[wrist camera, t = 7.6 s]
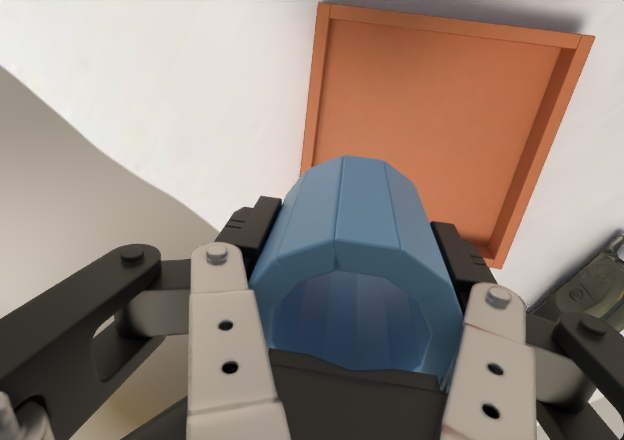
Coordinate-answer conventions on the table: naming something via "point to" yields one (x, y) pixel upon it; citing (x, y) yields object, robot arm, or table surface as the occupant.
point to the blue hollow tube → (357, 272)
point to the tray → (443, 109)
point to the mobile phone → (592, 290)
